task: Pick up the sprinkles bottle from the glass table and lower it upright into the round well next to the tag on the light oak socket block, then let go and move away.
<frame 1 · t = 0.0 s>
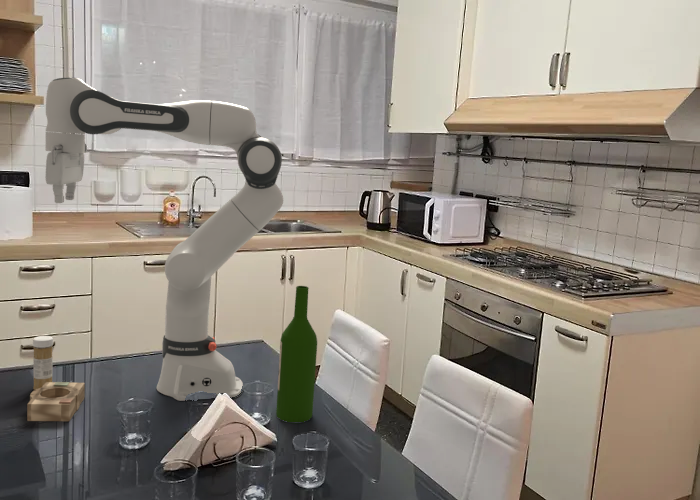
hand: (64, 201, 162), 48 cm above the table, tool pointing down, fingers open, 8 cm apart
wine bottle: (294, 416, 161), on the table
socket block: (57, 409, 155), on the table
sprinkles bottle: (42, 389, 166), on the table
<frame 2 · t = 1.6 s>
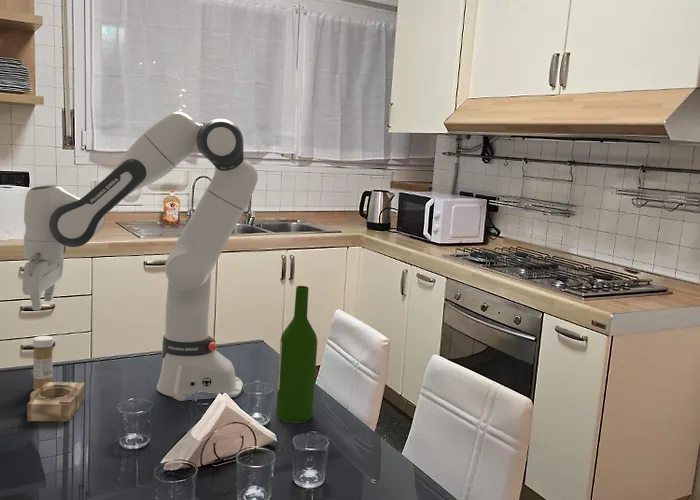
hand: (42, 305, 163), 22 cm above the table, tool pointing down, fingers open, 8 cm apart
nothing on the table moved.
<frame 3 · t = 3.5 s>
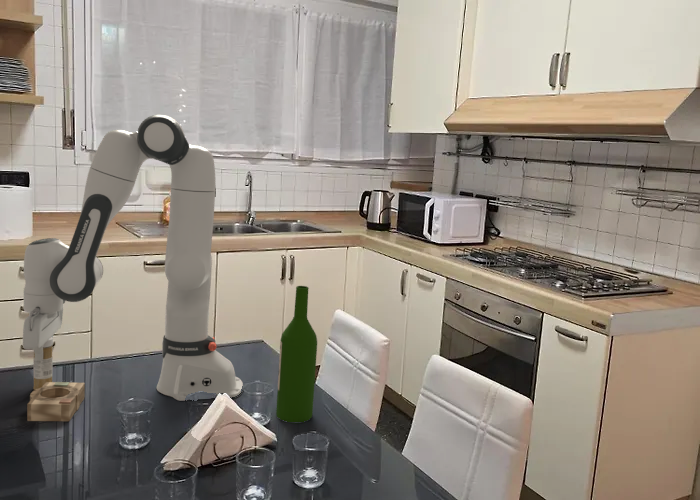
hand: (43, 356, 165), 9 cm above the table, tool pointing down, fingers closed on sprinkles bottle, 4 cm apart
sprinkles bottle: (42, 389, 166), on the table, touching gripper
everything else where it was.
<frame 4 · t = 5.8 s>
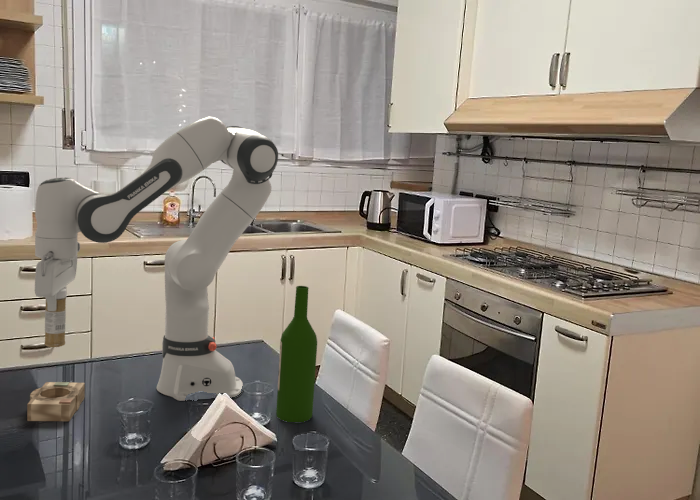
hand: (56, 307, 151), 25 cm above the table, tool pointing down, fingers closed on sprinkles bottle, 4 cm apart
sprinkles bottle: (54, 345, 152), point 15 cm above the table, touching gripper
everything else where it was.
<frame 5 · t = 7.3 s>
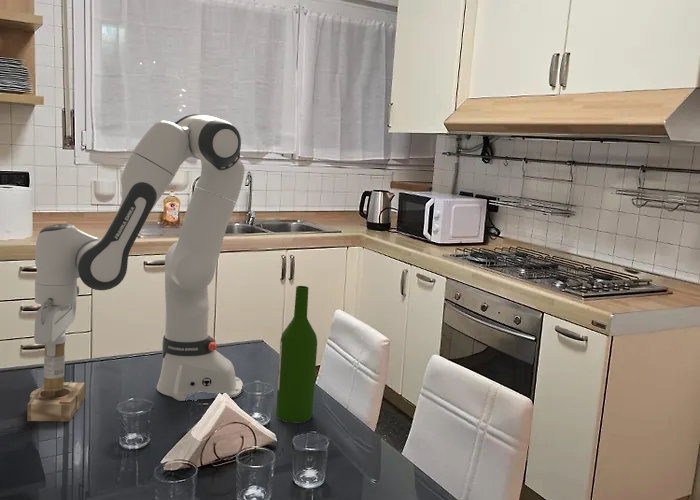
hand: (55, 351, 152), 14 cm above the table, tool pointing down, fingers closed on sprinkles bottle, 4 cm apart
sprinkles bottle: (53, 389, 154), point 5 cm above the table, touching gripper
everything else where it was.
when the fingers open (10 cm above the table, at t = 8.4 s): sprinkles bottle stays where it is, resting in socket block.
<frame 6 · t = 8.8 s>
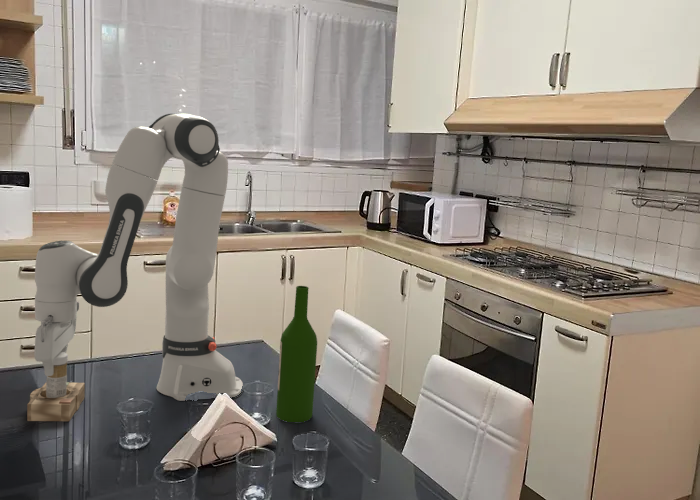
hand: (55, 368, 153), 10 cm above the table, tool pointing down, fingers open, 8 cm apart
sprinkles bottle: (55, 409, 155), resting in socket block
everything else where it was.
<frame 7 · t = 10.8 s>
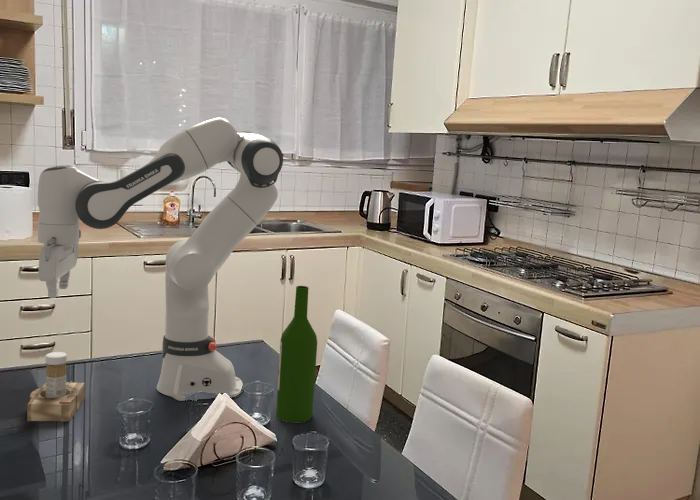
hand: (58, 292, 155), 27 cm above the table, tool pointing down, fingers open, 8 cm apart
nothing on the table moved.
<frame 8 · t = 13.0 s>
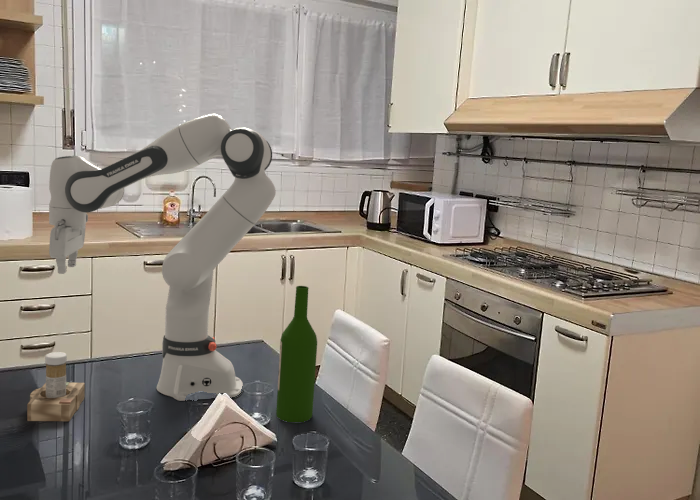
hand: (67, 269, 172), 29 cm above the table, tool pointing down, fingers open, 8 cm apart
nothing on the table moved.
at the end: sprinkles bottle 0.1 cm off-centre on the socket block, point 0.0 cm above the socket block's base; sprinkles bottle tilted 0°; the gripper is holding nothing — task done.
